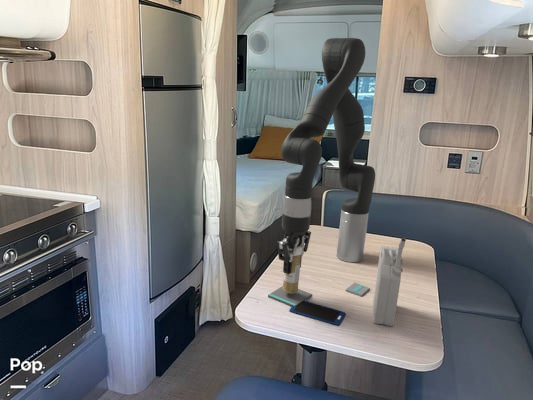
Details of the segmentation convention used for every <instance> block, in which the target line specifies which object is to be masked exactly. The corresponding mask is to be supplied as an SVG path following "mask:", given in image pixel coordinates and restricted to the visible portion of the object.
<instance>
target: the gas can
mask: <svg viewBox="0 0 533 400" xmlns="http://www.w3.org/2000/svg"><path fill="white" fill-rule="evenodd" d="M406 241H407V239H406V238H405V237H402V238H401V239H400V242H399V243H398V247H397V246H396V247H394V246H388V245H380V250H379V257H378V264H377V265H378V266H377V272H376V278H375V279H376V280H375V285H374V287H375V288H374V292H373V293H374V294H373V302H372V303H373V304H372V305H373V322H374V323H373V324H376V325H384V326H387V327H394V325H395V318H396V313H397V305H398V300H399V293H400V288H401V287H400V286H401V281H402V280H401V278H402V275H401V273H403V272H404V270H403V269H404V268H403V267H402V266H401V265H403V264H404V263H403V262H404V258H403V257H402V255H403V250H404V248H405V243H406Z"/></svg>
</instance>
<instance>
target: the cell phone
mask: <svg viewBox="0 0 533 400" xmlns="http://www.w3.org/2000/svg"><path fill="white" fill-rule="evenodd" d="M288 312H289V313H291V314H295V315H299V316H301V317H304V318H309V319H312V320H315V321H318V322H322V323H325V324H328V325H333V326H336V327H339V326H340V325H341V324H342V322H343V320H344V319H345V318H346V315H347V313H346V312H345V311H343V310H339V309H336V308H332V307H329V306H325V305H322V304H318V303H314V302H311V301H308V300H304V301H302V302H301V303H299V304H298V305H297V306H295V307H294V306H292V307H291V306H290V308H289V311H288Z"/></svg>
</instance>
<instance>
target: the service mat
mask: <svg viewBox="0 0 533 400" xmlns="http://www.w3.org/2000/svg"><path fill="white" fill-rule="evenodd" d="M312 295H313V294H312V293H310V292H308V291H306V290H302V289H300V288H298V291H297V292H296V293H286V292H284V291H283V285H281V286H280V287H278V288H277V289H275V290H273V291H272V292H270V293H269V294H267V297H268V298H269V299H272V300H274V301H277V302H280V303H282V304H284V305H287V306H289V307H290V308H291V307H292V306H294V307H295V306H297V305H298V304H299V303H301V302H302V301H304V300H305V301H308V299H310V298H311V297H312Z"/></svg>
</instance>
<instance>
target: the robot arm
mask: <svg viewBox="0 0 533 400" xmlns="http://www.w3.org/2000/svg"><path fill="white" fill-rule="evenodd" d="M365 59H366V47H365V44H364V41H363V40H362V39H360V38H358V37H357V38H356V37H334V38H328V39H326V40H325V41H324V42H323V45H322V49H321V63H322V69H323V73H324V76H325V80H326V81H325V82H326V85H325V86H324V87H323V88H321V89H320V90H319V91H317V93H316V94H315V95H313V97H312V98H311V99H310V101H309V102H308V105H307V106H306V109H305V111H304V112H303V115H302V118H301V120H299V122H298V123H297V124H296V125H295V126H294V128H293V129H292V130H291V131H290V132H289V133H288V135H287V136H286V137H285V138H284V141H283V143H282V145H281V150H280V151H281V152H280V153H281V158H282V160H283V161H284V162H287V163H288V164H293V165H297V166H302V167H301V170H300V172H291V173H289V174H287V176H286V178H285V189H284V191H285V192H284V199H283V205H282V217H281V218H282V219H281V228H282V229H283V230H284V235H283V239H282V240H278V241H277V243H276V246H277V253H278V255H277V256H278V259H279V260H280V261H282V262H283V267H282V269H283V274H284V273H286V274H290V273H291V269H292V259H293V254H295V253H296V249H297V247H299V246H301V247H302V254H301V259H300V269H301V267H302V259H303V256H304V253H307V251H308V248H309V243H310V240H311V235H312V231H309V230H310V225H311V214H312V213H311V212H312V193H313V191H312V190H313V182H314V180H315V179H314V178H315V177H316V176H315V175H316V172H317V170H318V167H319V165H320V162H321V160H322V156H323V148H322V145H321V142H320V141H318V140H317V139H313V138H319V137H322V136H323V135H324V134H325V132H326V131H327V128H328V127H329V123H330V121H331V120H333V128H334V132H335V138H336V139H335V140H336V147H337V154H338V155H337V156H338V174H339V175H338V177H339V182H340V185H341V187H342V188H343V189H345V190H347V191H352V192H356V193H358V194H357V196H356V198H347V199H345V200H343V201H342V203H341V209H340V210H341V211H340V221H339V227H338V228H339V229H338V237H337V246H336V257H337V258H338V259H339V260H341V261H344V262H348V263H358V262H362V261H363V259H364V252H365V244H366V236H367V229H368V221H369V214H370V207H371V203H372V198H373V192H374V186H375V183H376V182H375V181H376V171H375V168H374V167H373V166H370V165H366V164H362V163H361V164H360V163H355V161H354V152H355V149H356V148H357V146H358V144H359V143H360V141H362V138H363V136H364V134H365V131H366V127H365V117H364V110H363V107H362V105H361V104H360V102H359V100H358V99H357V98H356V96H355V95H354V94H353V93H352V91H351V90H350V89H349V87H351V86H352V83H353V82H354V80H355V79H356V78H357V76H358V74H359V73H360V71H361V69H362V67H363V65H364V62H365ZM288 248H291V249H292V251H291V250H288ZM288 253H290V256H288Z"/></svg>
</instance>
